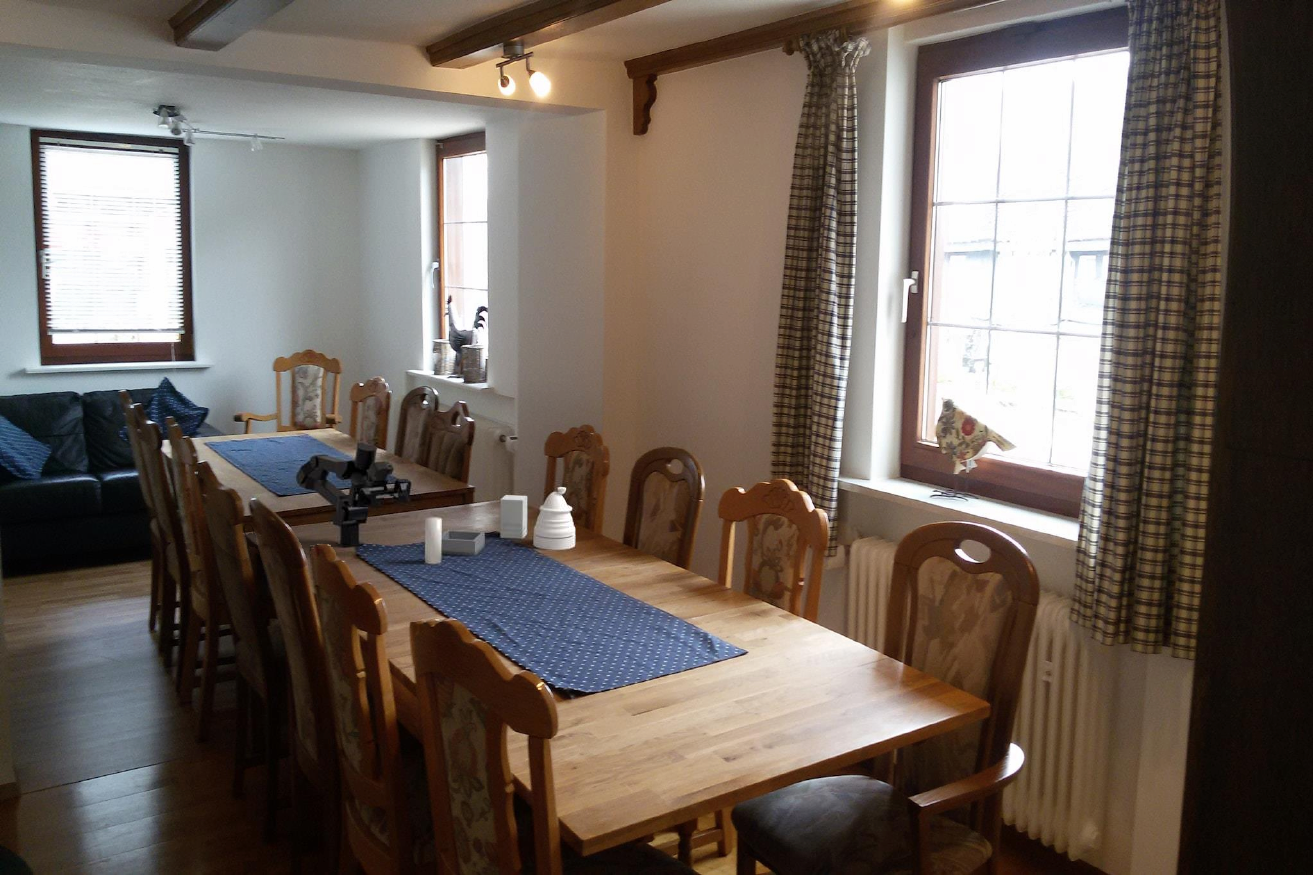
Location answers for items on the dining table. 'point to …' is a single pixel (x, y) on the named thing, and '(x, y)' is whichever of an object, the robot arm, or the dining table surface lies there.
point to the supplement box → (513, 516)
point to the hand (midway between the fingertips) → (395, 504)
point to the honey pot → (554, 524)
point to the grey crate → (462, 542)
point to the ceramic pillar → (433, 540)
